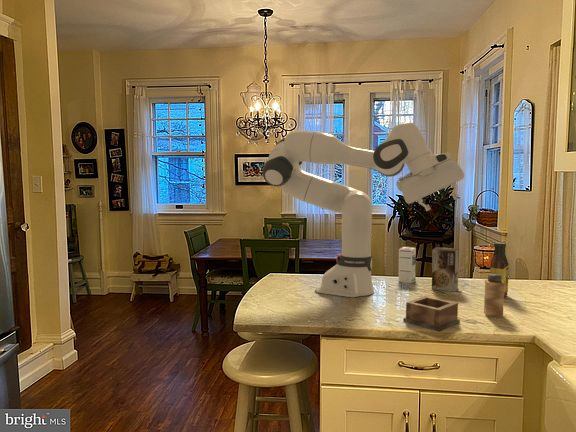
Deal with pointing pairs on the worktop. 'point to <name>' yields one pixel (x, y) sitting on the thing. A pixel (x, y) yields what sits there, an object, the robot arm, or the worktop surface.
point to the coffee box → (445, 268)
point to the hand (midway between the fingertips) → (442, 203)
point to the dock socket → (432, 313)
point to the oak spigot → (494, 296)
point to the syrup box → (407, 264)
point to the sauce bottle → (500, 264)
